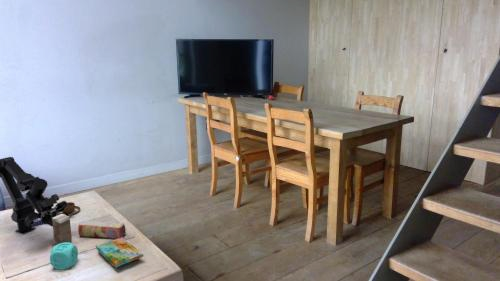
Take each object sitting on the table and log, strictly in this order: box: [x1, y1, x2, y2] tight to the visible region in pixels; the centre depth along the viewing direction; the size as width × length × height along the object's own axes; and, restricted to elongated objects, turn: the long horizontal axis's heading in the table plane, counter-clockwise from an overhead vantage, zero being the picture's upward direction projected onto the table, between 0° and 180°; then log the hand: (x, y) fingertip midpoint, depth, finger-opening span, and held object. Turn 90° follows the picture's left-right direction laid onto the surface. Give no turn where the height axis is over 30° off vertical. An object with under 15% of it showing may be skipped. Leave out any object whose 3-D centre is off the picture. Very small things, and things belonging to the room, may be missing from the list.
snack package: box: [77, 220, 126, 239], centre depth 186 cm, size 21×7×7 cm, turn 82°
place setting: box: [57, 201, 81, 217], centre depth 209 cm, size 18×20×6 cm
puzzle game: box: [95, 236, 144, 268], centre depth 167 cm, size 12×5×20 cm
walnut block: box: [52, 213, 73, 246], centre depth 176 cm, size 5×5×14 cm
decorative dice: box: [49, 242, 79, 271], centre depth 162 cm, size 8×8×8 cm
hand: (57, 227), depth 176 cm, fingers closed, pressing on walnut block
